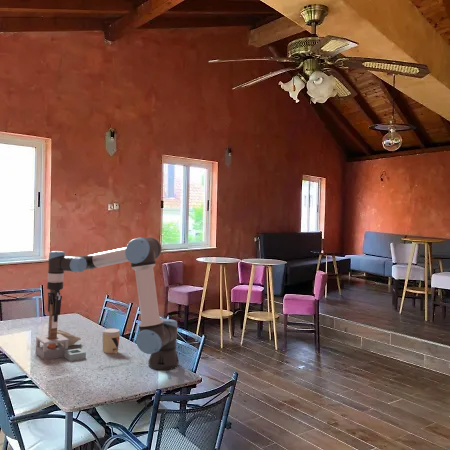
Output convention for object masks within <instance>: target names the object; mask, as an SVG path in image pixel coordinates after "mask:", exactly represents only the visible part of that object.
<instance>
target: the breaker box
mask: <svg viewBox="0 0 450 450" xmlns="http://www.w3.org/2000/svg"><path fill="white" fill-rule="evenodd" d="M60 342H64V345H63V344H61V343H60ZM68 342H69V339H67V338H66V337H64V336H62V335H61V334H57V339H53V340H49V339H48V334H47V335H41V336H40V335H39V336H36V340H35V355H36V356H38V357H39V358H40V359H42V360H43V361H44V360H45V361H47V360H52V359H57V358H65V357H64V351H65V350H69V346H68ZM53 343H56V348H51V349H48V344H53Z"/></svg>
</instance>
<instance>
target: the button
mask: <svg viewBox="0 0 450 450" xmlns="http://www.w3.org/2000/svg"><path fill="white" fill-rule="evenodd" d="M51 348H56V343H53V344H48V349H51Z"/></svg>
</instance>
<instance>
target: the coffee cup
mask: <svg viewBox="0 0 450 450" xmlns="http://www.w3.org/2000/svg"><path fill="white" fill-rule="evenodd" d="M120 336H121V330H120V329H119V328H113V327H111V328H104V329H103V330H102V352H103V353H105V354H115V355H117V354H118V353H119V343H120Z"/></svg>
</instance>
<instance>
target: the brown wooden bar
mask: <svg viewBox="0 0 450 450" xmlns="http://www.w3.org/2000/svg"><path fill="white" fill-rule="evenodd" d="M48 314H49V315H48V316H49V318H48V334H47V335H48V339H49V340H53V339H57V330H58V327H57V328H52V315H53V304H50V312H48Z"/></svg>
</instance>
